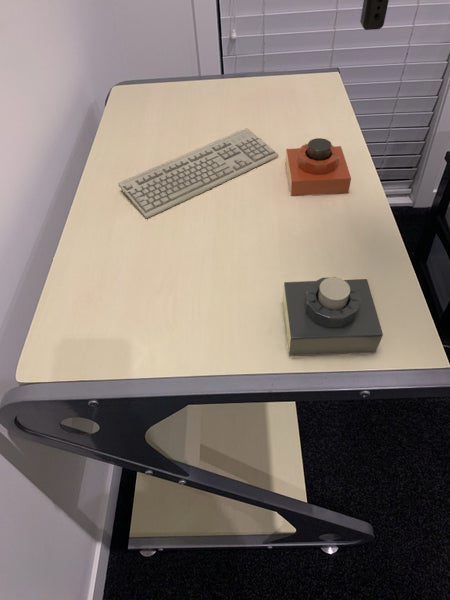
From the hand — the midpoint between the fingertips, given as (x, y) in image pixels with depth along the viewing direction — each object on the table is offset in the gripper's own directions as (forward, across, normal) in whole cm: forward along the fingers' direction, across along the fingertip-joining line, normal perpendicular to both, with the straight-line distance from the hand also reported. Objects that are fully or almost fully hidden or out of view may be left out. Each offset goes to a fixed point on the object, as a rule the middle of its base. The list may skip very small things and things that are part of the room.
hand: (371, 26), depth 47 cm
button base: (+29, +14, +1) cm, 32 cm away
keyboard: (+29, +17, +22) cm, 40 cm away
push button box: (+29, -19, +4) cm, 35 cm away
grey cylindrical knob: (+23, -19, +4) cm, 30 cm away
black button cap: (+24, +14, +1) cm, 28 cm away
